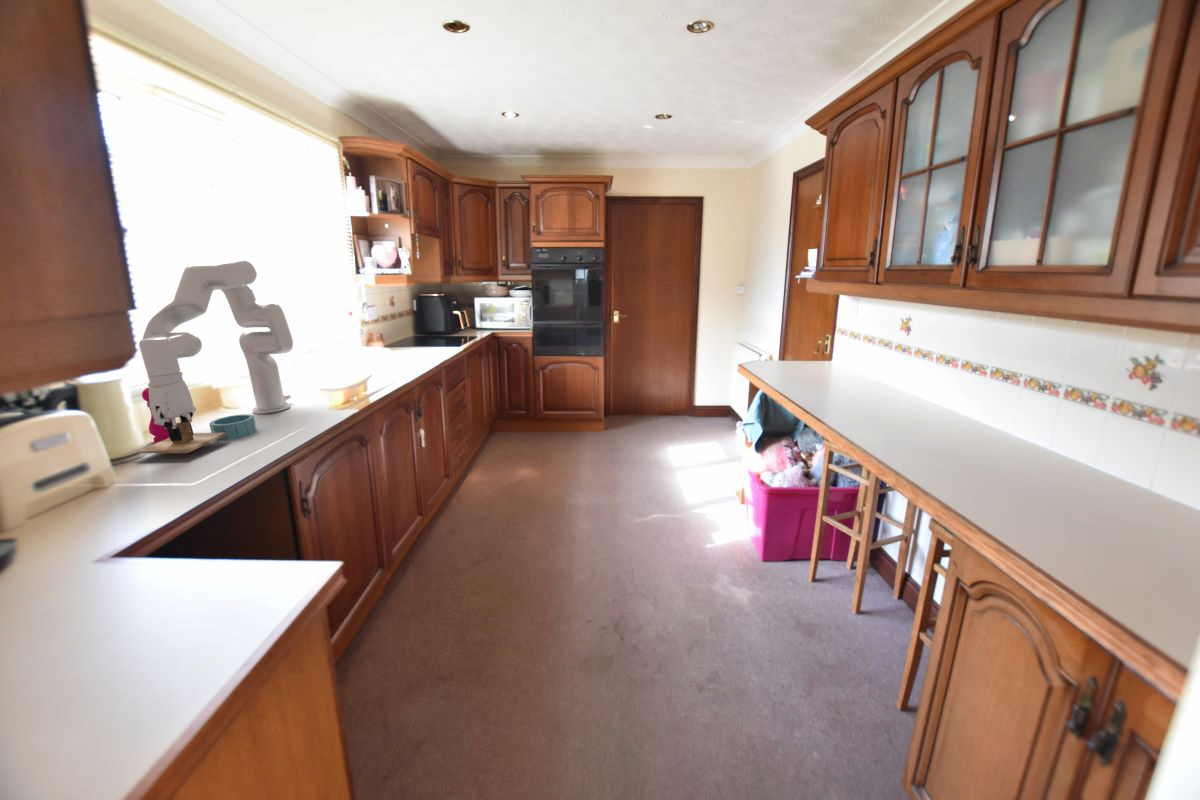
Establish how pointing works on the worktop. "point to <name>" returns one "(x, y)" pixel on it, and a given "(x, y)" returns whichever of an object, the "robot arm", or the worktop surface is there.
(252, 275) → the robot arm
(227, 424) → the bowl
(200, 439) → the lid
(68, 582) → the worktop surface
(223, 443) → the mat
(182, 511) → the worktop surface
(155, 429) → the pepper mill
